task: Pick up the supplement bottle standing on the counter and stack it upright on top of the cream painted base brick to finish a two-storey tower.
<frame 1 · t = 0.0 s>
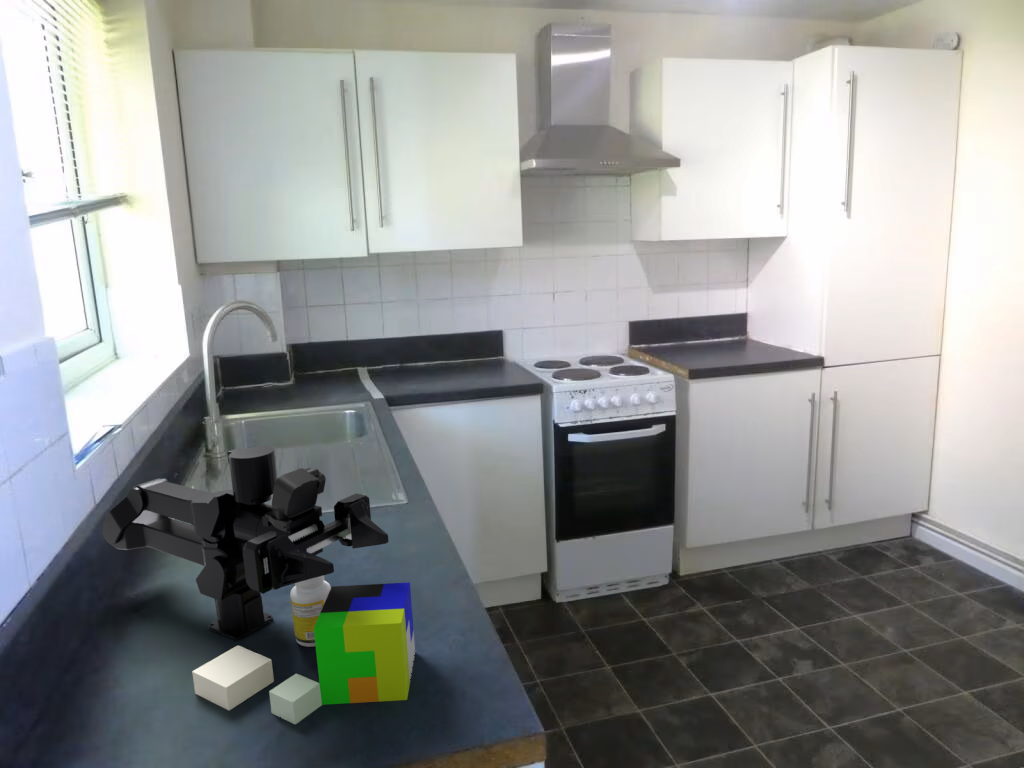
hand: (361, 553, 87), 17 cm above the counter, tool horizontal, fingers open, 9 cm apart
base brick: (235, 687, 90), on the counter
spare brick: (297, 710, 85), on the counter
puzzle toy: (371, 678, 91), on the counter
supplement bottle: (315, 638, 100), on the counter
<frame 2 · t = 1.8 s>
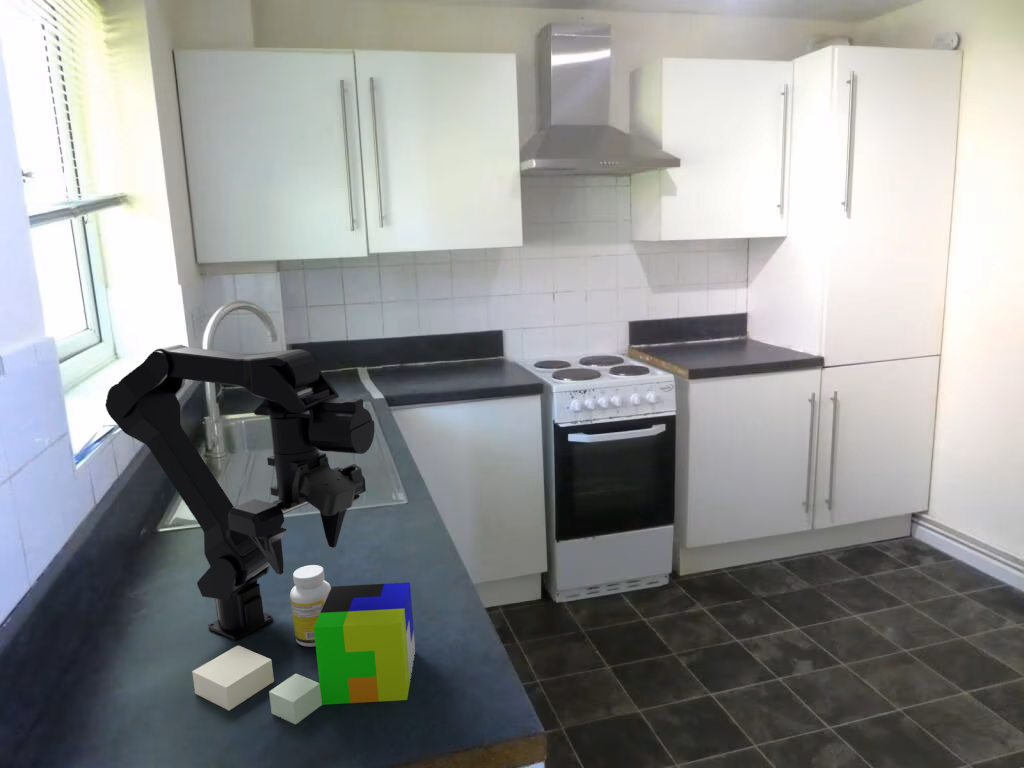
hand: (307, 559, 98), 11 cm above the counter, tool pointing down, fingers open, 9 cm apart
nothing on the counter moved.
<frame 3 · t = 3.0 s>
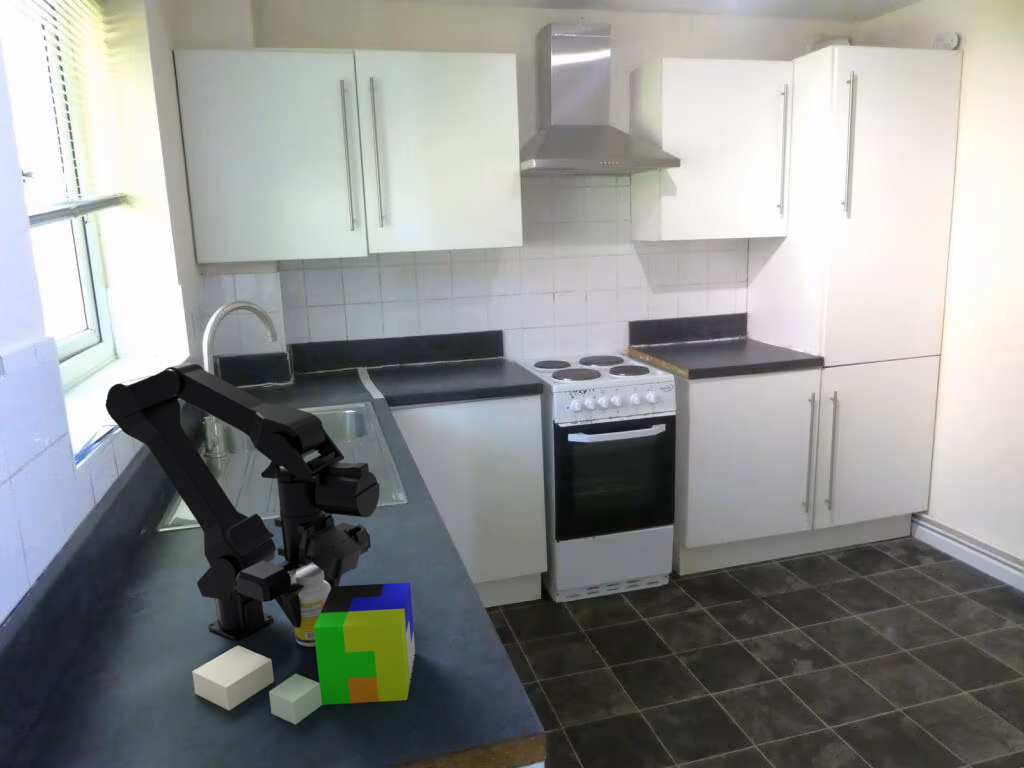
hand: (313, 617, 100), 3 cm above the counter, tool pointing down, fingers closed on supplement bottle, 5 cm apart
supplement bottle: (315, 638, 100), on the counter, touching gripper
everything else where it was.
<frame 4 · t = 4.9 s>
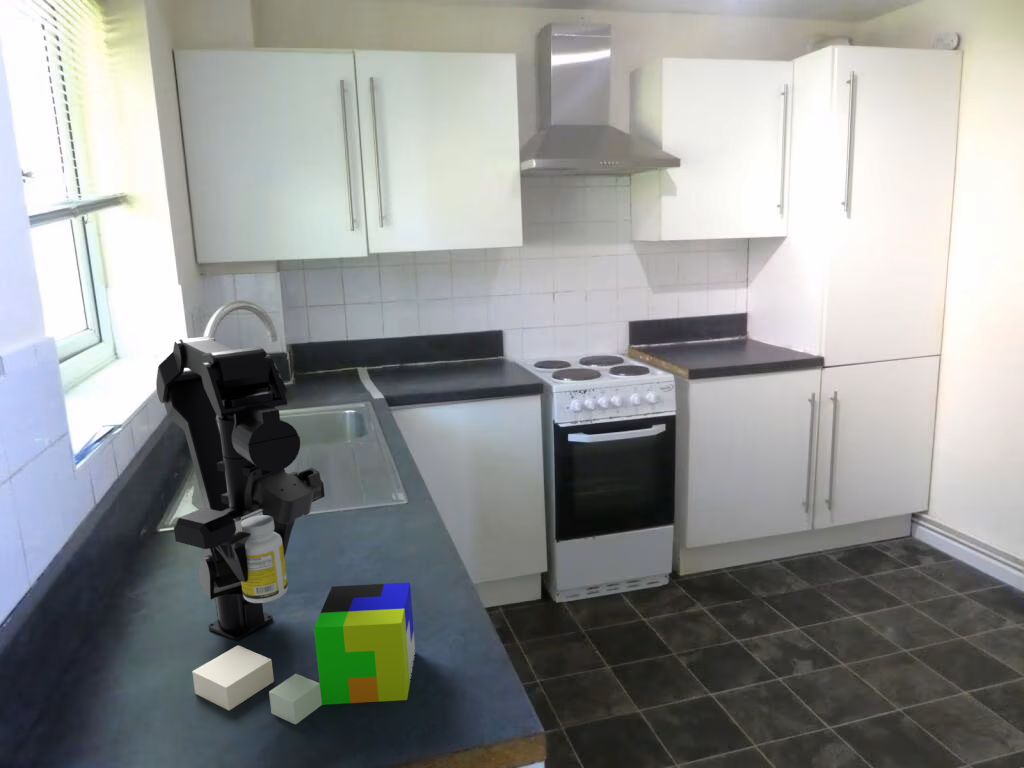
hand: (262, 571, 91), 13 cm above the counter, tool pointing down, fingers closed on supplement bottle, 5 cm apart
supplement bottle: (265, 595, 92), point 10 cm above the counter, touching gripper
everything else where it was.
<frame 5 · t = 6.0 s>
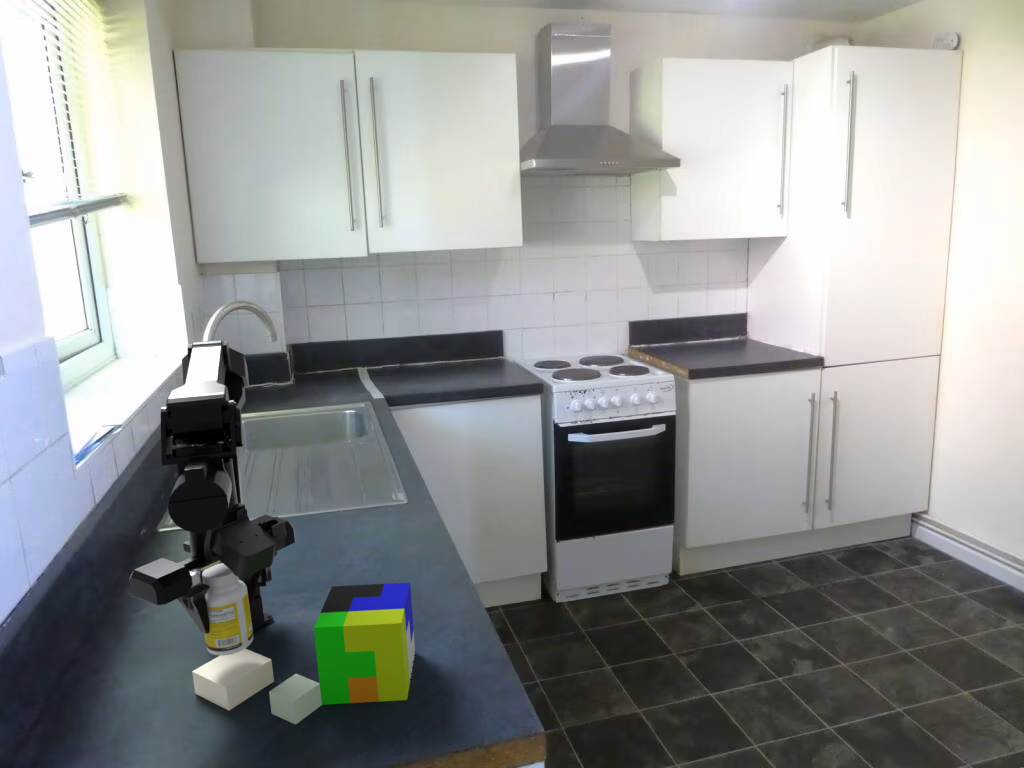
hand: (226, 621, 88), 9 cm above the counter, tool pointing down, fingers closed on supplement bottle, 5 cm apart
supplement bottle: (230, 645, 89), point 6 cm above the counter, touching gripper
everything else where it was.
when the fingers open (7 cm above the counter, at t = 6.7 s): supplement bottle drops 1 cm, resting on base brick.
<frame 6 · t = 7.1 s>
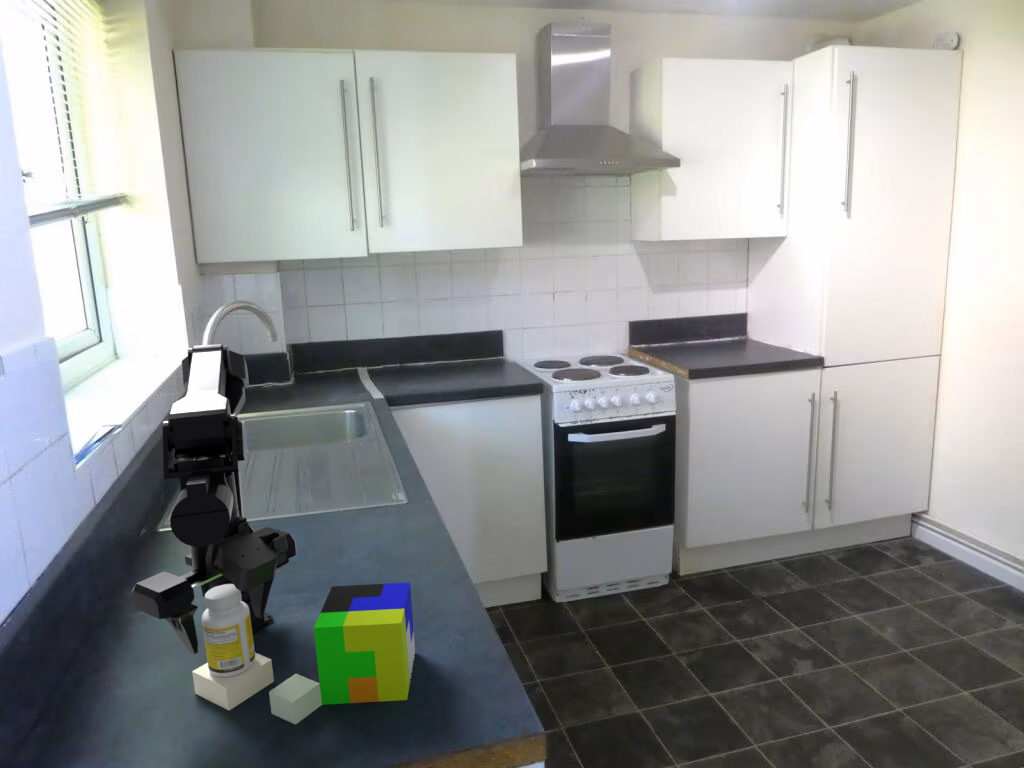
hand: (228, 634, 88), 7 cm above the counter, tool pointing down, fingers open, 9 cm apart
supplement bottle: (232, 667, 89), point 3 cm above the counter, touching base brick
everything else where it was.
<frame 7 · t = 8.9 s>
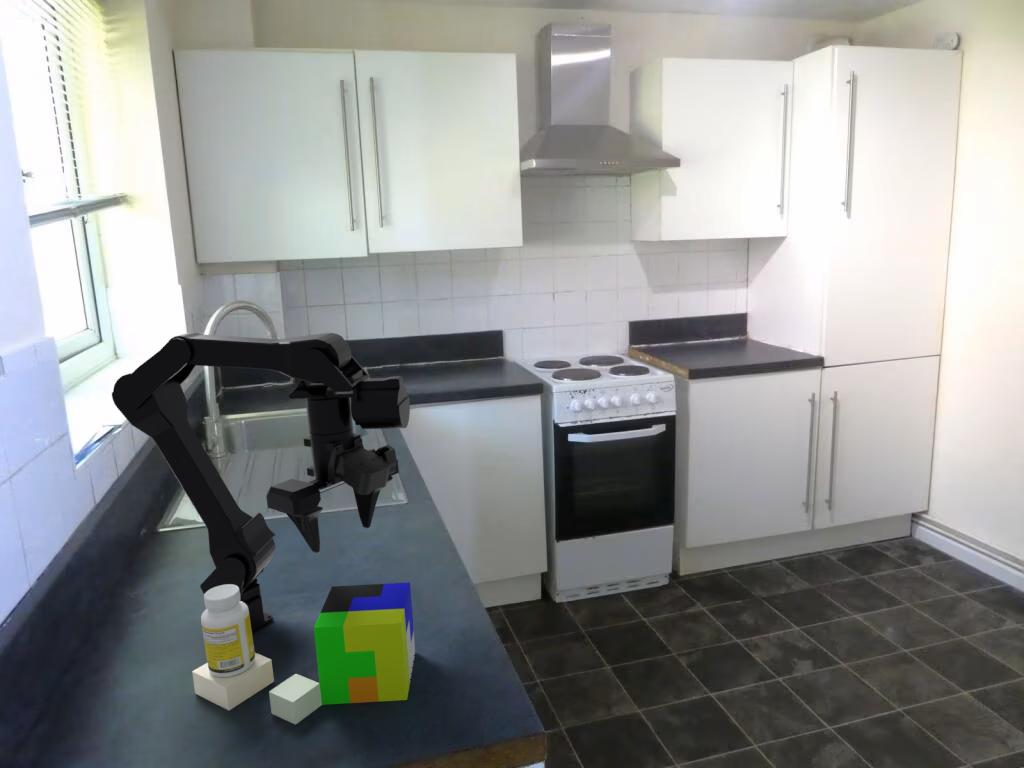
hand: (342, 539, 100), 13 cm above the counter, tool pointing down, fingers open, 9 cm apart
nothing on the counter moved.
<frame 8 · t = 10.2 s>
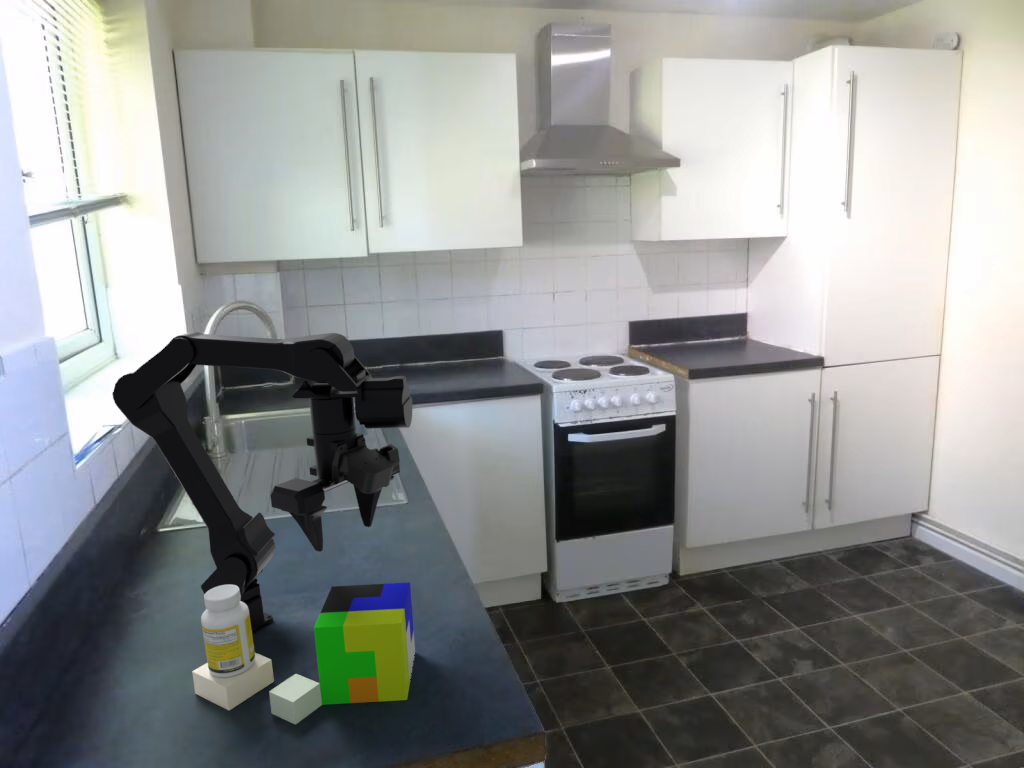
hand: (344, 538, 101), 13 cm above the counter, tool pointing down, fingers open, 9 cm apart
nothing on the counter moved.
at the end: supplement bottle 0.1 cm from the base brick (horizontally); supplement bottle tilted 0°; supplement bottle touching base brick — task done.
